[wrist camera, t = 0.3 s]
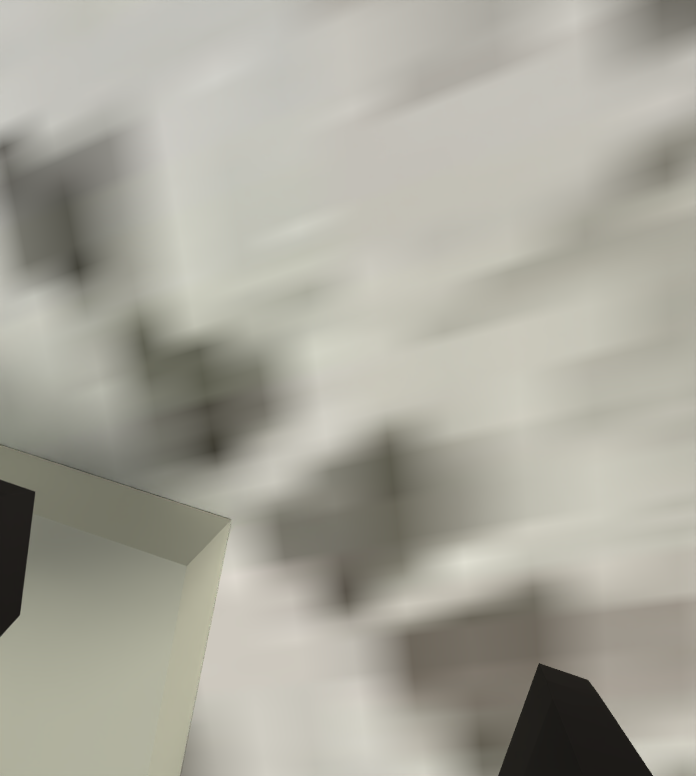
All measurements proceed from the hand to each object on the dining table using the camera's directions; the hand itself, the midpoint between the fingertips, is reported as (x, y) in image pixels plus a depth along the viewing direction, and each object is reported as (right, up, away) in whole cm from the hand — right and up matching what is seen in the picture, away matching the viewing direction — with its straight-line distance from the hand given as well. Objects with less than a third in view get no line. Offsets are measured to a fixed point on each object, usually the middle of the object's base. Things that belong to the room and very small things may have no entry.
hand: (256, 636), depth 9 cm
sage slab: (-9, -4, +13) cm, 17 cm away
